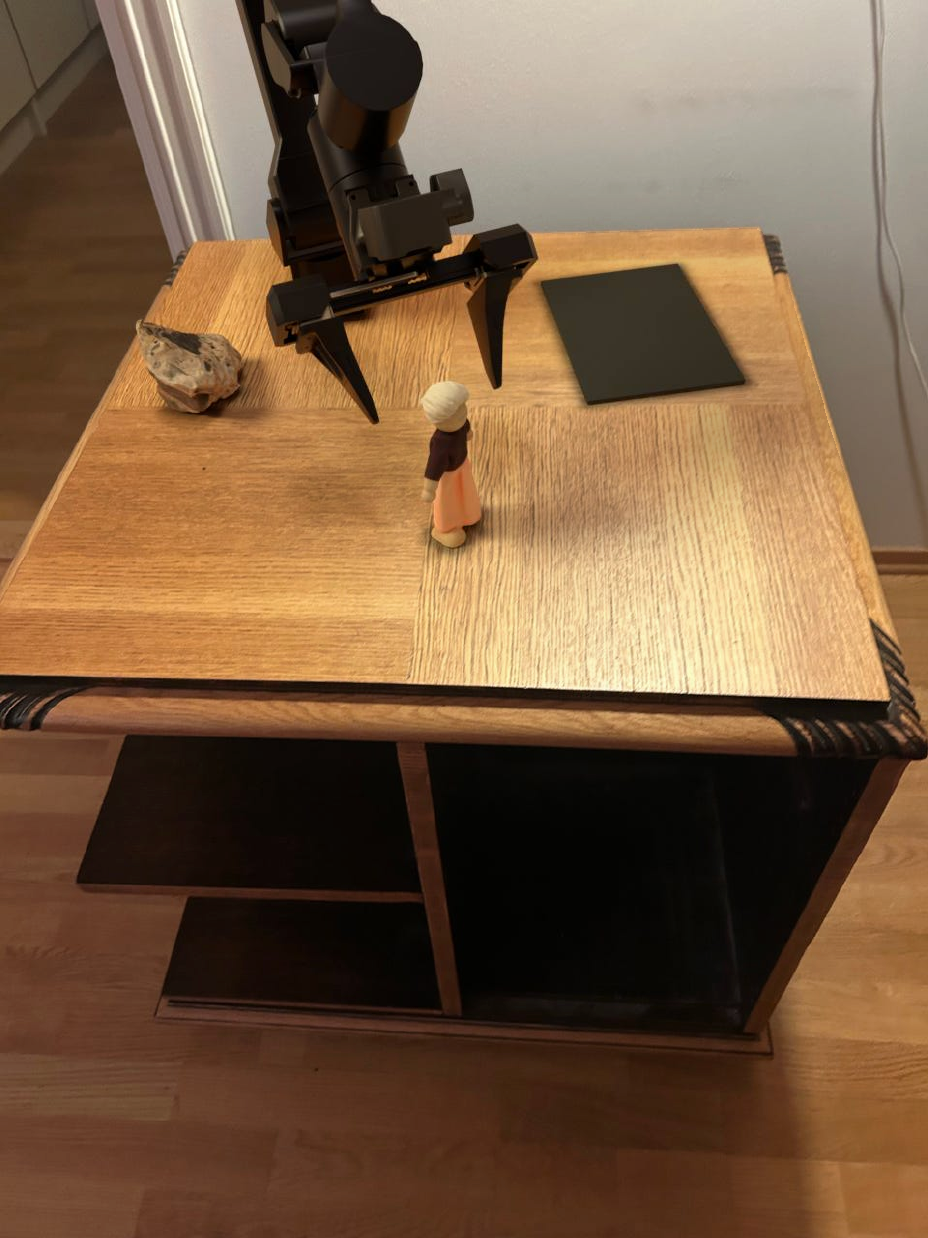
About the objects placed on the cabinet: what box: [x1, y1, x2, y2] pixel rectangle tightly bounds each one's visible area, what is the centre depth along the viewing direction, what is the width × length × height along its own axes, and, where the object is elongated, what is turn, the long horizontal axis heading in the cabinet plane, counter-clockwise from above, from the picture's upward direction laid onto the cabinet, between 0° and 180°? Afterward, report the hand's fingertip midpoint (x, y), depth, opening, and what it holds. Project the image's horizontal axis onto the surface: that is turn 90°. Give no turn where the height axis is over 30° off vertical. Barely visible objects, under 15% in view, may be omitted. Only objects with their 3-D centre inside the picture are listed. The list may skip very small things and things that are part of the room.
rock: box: [135, 319, 245, 414], centre depth 81 cm, size 9×7×10 cm
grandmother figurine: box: [419, 380, 482, 549], centre depth 66 cm, size 8×4×13 cm, turn 168°
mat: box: [540, 263, 746, 406], centre depth 86 cm, size 14×20×1 cm
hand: (437, 405), depth 65 cm, fingers open, 9 cm apart
